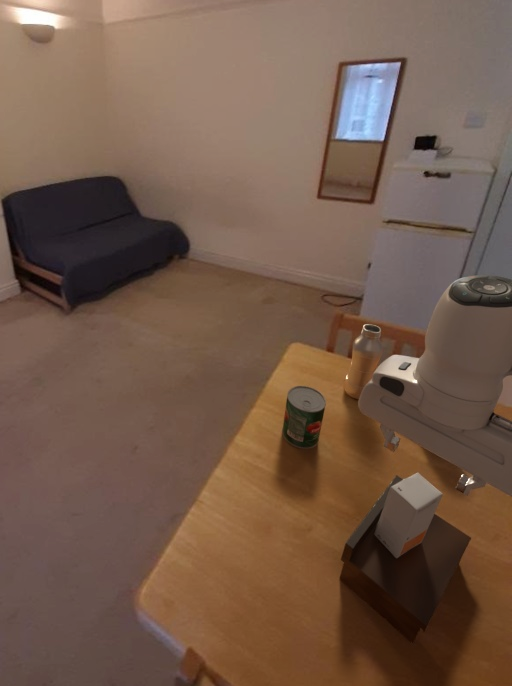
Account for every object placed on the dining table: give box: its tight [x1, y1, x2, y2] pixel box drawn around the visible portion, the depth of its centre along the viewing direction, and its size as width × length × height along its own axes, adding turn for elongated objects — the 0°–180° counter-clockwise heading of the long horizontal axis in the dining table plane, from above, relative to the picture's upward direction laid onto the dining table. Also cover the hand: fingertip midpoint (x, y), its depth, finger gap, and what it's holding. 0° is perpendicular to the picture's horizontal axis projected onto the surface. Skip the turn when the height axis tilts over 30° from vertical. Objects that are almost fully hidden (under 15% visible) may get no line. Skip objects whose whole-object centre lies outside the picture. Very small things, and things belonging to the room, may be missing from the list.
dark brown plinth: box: [339, 475, 472, 644], centre depth 65 cm, size 12×18×9 cm, turn 129°
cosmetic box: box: [374, 472, 444, 558], centre depth 62 cm, size 6×4×12 cm
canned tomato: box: [281, 385, 327, 450], centre depth 89 cm, size 8×8×11 cm
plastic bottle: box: [343, 323, 385, 400], centre depth 98 cm, size 6×7×20 cm
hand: (424, 467), depth 58 cm, fingers open, 8 cm apart
